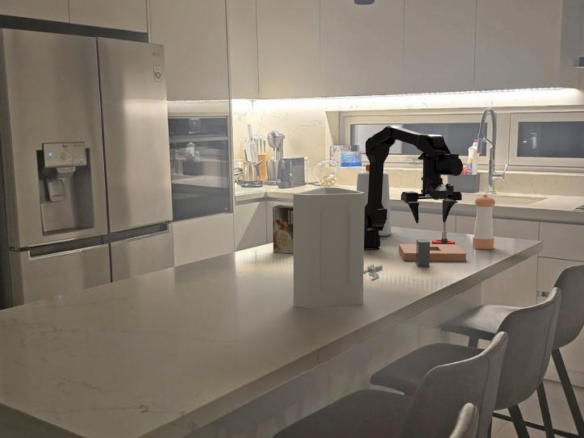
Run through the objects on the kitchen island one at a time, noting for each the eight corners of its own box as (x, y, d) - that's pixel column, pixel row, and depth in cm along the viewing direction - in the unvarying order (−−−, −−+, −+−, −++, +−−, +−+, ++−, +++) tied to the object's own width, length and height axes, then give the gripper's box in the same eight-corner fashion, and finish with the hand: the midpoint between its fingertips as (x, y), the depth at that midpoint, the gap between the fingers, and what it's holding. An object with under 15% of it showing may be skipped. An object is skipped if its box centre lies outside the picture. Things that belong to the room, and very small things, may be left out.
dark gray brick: (417, 267, 208) (418, 242, 206) (415, 263, 213) (416, 239, 211) (429, 267, 207) (430, 242, 206) (426, 263, 212) (427, 239, 211)
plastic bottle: (354, 229, 277) (355, 163, 273) (390, 230, 275) (392, 163, 271) (352, 236, 263) (353, 165, 258) (391, 237, 260) (392, 165, 256)
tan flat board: (404, 260, 217) (404, 253, 217) (398, 250, 233) (399, 243, 233) (465, 261, 216) (466, 253, 216) (456, 251, 232) (456, 244, 232)
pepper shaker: (496, 249, 236) (498, 195, 233) (475, 249, 236) (477, 195, 233) (490, 245, 243) (492, 193, 240) (470, 245, 243) (472, 193, 240)
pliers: (342, 272, 195) (362, 263, 208) (342, 277, 195) (362, 268, 208) (373, 276, 190) (392, 266, 203) (373, 281, 190) (392, 271, 203)
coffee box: (303, 250, 233) (303, 205, 231) (296, 254, 227) (296, 208, 225) (279, 249, 237) (279, 204, 234) (272, 252, 231) (271, 206, 229)
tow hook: (431, 242, 252) (432, 245, 243) (432, 208, 251) (433, 210, 242) (453, 243, 251) (456, 246, 242) (455, 209, 249) (457, 211, 240)
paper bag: (348, 313, 158) (349, 197, 154) (292, 306, 165) (292, 194, 160) (374, 294, 175) (376, 189, 171) (322, 288, 182) (323, 186, 177)
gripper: (413, 176, 202) (412, 227, 204) (470, 175, 205) (469, 225, 207) (400, 174, 212) (399, 222, 215) (455, 173, 216) (453, 220, 218)
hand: (430, 222), depth 213 cm, fingers open, 9 cm apart
